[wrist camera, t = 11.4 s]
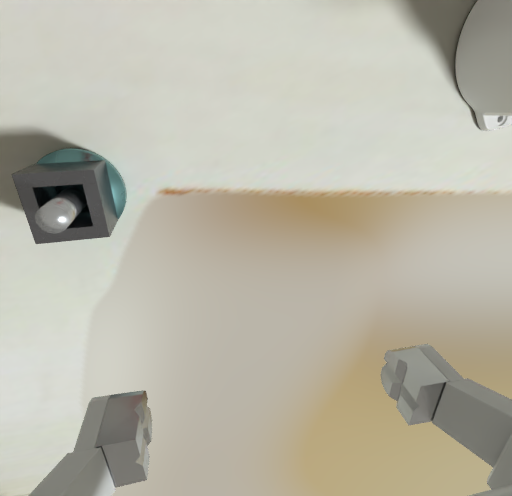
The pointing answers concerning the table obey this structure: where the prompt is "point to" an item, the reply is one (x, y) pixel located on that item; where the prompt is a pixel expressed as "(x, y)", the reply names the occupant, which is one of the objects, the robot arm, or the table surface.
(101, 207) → the hollow grey cube
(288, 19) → the table surface
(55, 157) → the teal mushroom knob
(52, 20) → the table surface
